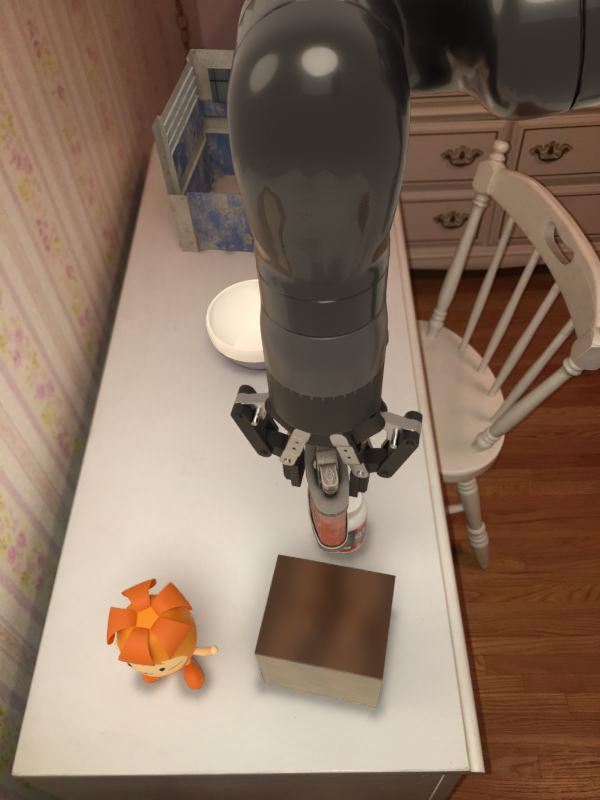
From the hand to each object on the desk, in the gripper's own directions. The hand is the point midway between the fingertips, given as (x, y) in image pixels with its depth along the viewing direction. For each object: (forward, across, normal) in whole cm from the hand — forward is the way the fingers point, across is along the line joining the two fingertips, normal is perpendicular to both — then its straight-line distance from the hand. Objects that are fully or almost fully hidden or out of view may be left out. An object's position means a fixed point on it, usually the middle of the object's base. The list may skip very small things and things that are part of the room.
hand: (327, 481), depth 53 cm
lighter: (+5, 0, 0) cm, 5 cm away
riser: (+27, +1, -6) cm, 28 cm away
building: (+27, -26, +67) cm, 77 cm away
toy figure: (+27, -15, -10) cm, 33 cm away
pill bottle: (+27, 0, +8) cm, 29 cm away
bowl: (+27, -18, +35) cm, 48 cm away
